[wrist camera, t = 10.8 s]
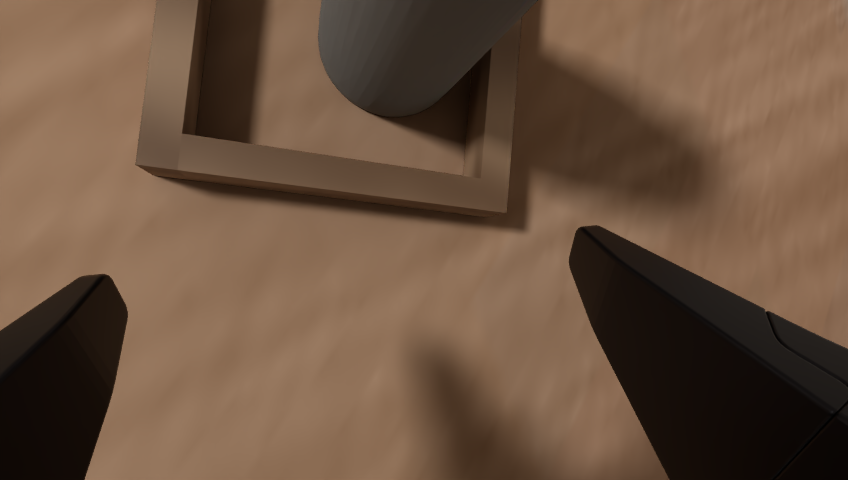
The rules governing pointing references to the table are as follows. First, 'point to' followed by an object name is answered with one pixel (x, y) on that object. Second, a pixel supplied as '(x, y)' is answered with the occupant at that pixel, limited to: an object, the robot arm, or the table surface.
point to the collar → (308, 172)
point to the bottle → (408, 47)
